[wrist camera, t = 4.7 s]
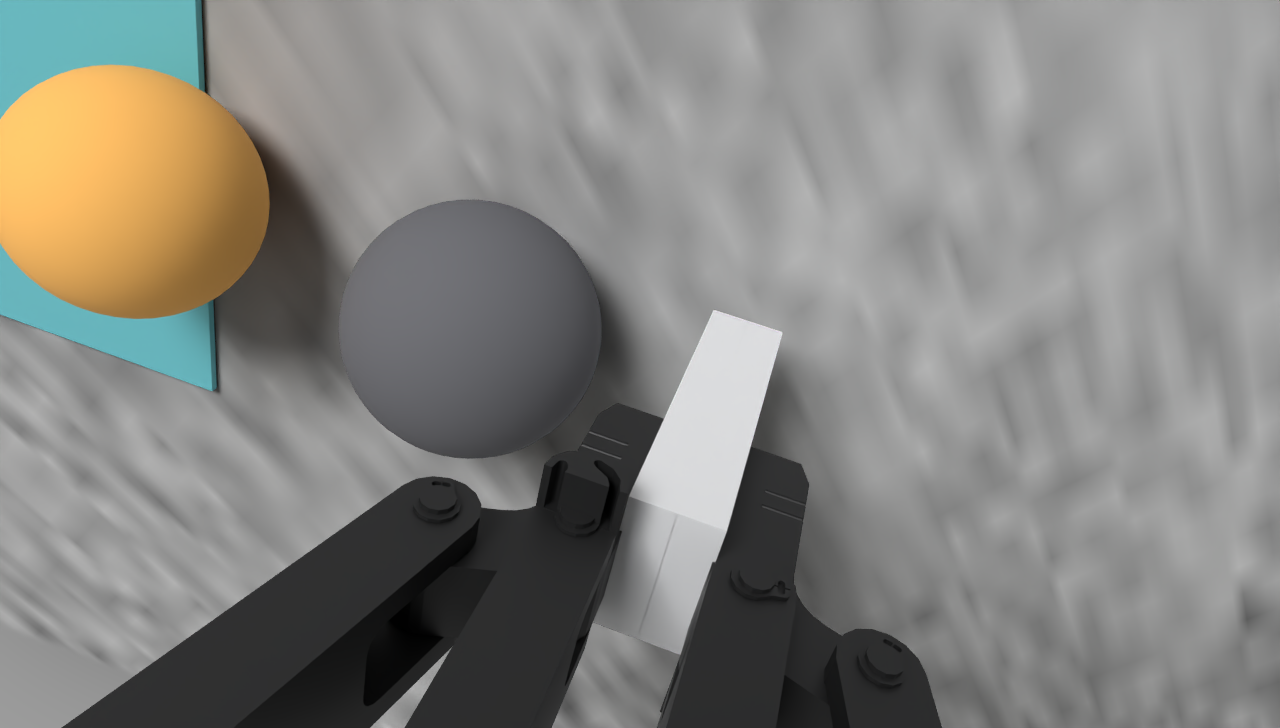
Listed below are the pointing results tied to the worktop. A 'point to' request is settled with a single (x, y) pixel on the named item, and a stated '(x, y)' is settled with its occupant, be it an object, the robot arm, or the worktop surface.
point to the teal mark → (89, 36)
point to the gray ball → (470, 329)
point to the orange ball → (129, 192)
